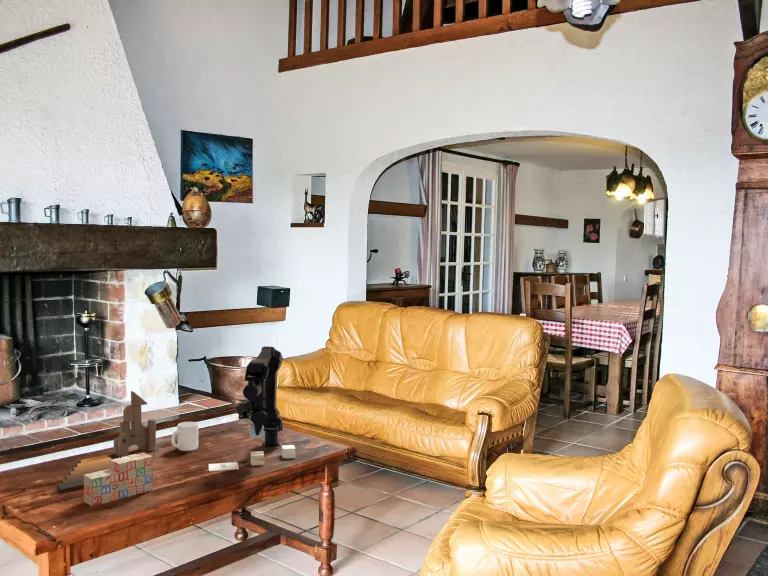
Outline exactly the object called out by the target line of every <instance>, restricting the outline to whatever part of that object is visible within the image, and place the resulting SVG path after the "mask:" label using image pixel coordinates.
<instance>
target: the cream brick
mask: <svg viewBox="0 0 768 576" xmlns="http://www.w3.org/2000/svg"><path fill="white" fill-rule="evenodd" d="M281 457H282V459H283V458H285V459H295V458H296V446H295V445H294V444H288V445H287V444H285V445H283V444H282V445H281Z"/></svg>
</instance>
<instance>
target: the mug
mask: <svg viewBox="0 0 768 576" xmlns="http://www.w3.org/2000/svg"><path fill="white" fill-rule="evenodd" d="M176 436H177V443H176V441H175V439H176V438H175V437H176ZM170 442H171V445H172V446H173V447H175V448H177V449H178V450H179V451H181V452H192V451H195V450H197V449H198V447H199V423H198V422H197V421H183V422H180V423H178V424H177V429H176V430H174V432H173V433H172V435H171V439H170Z"/></svg>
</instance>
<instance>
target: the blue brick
mask: <svg viewBox="0 0 768 576" xmlns="http://www.w3.org/2000/svg"><path fill="white" fill-rule="evenodd" d="M249 437H250V438H251V439H259V438H265V431H264V426H263V427H262V429H261V431H260V433H259V435H256V433H255V427H254V424H253V423H252V424H249Z"/></svg>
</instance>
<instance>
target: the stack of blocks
mask: <svg viewBox="0 0 768 576" xmlns="http://www.w3.org/2000/svg"><path fill="white" fill-rule="evenodd" d="M111 459H112V458H111ZM153 473H154V466H153V456H152V455H151V454H148V453H145V452H141V453H137V454H136V453H134V454H129V456H125V457H121V458H120V457H118V458H117V457H116V458H113V459H112V460H110V469H107V470H103V471H98V472H94V473H89V474H85V475H84V488H83V502H84V503H85V504H88V505H89V506H91V507H95V506H99V505H103V504H107V503H110V502H114V501H118V499H119V500H122V499H125V497H126V498H128V497H133V496H135V495H136V494H137V495H140V494H139V493H141V494H144V493H147V491H148V492H152V491H153V490H154V489H153V475H154V474H153ZM151 490H152V491H151ZM143 492H144V493H143ZM132 495H133V496H132ZM137 495H136V496H137ZM121 498H122V499H121Z"/></svg>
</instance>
